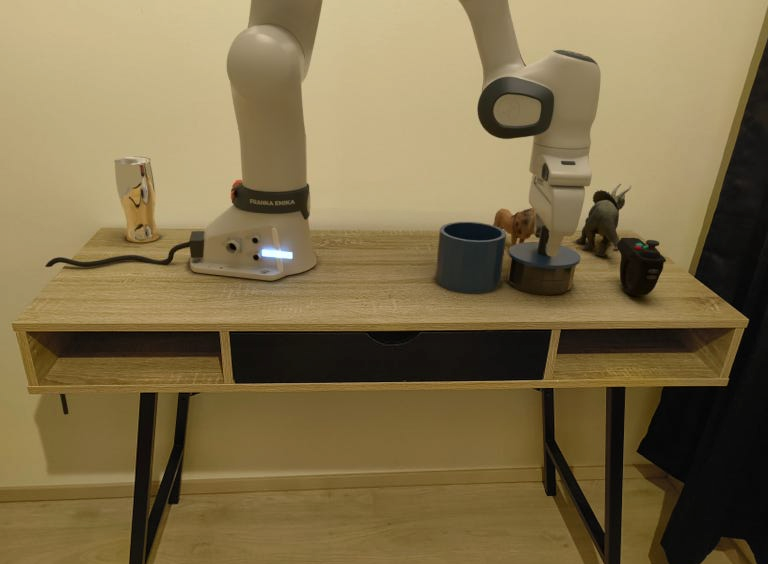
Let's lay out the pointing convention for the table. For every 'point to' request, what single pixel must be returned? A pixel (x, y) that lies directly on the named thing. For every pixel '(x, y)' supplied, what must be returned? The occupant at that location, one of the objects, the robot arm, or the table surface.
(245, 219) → the robot arm
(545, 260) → the lid
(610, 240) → the toy dinosaur
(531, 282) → the pan
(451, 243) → the pot
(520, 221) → the lion figurine
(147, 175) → the beer glass
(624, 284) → the controller
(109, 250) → the table surface
